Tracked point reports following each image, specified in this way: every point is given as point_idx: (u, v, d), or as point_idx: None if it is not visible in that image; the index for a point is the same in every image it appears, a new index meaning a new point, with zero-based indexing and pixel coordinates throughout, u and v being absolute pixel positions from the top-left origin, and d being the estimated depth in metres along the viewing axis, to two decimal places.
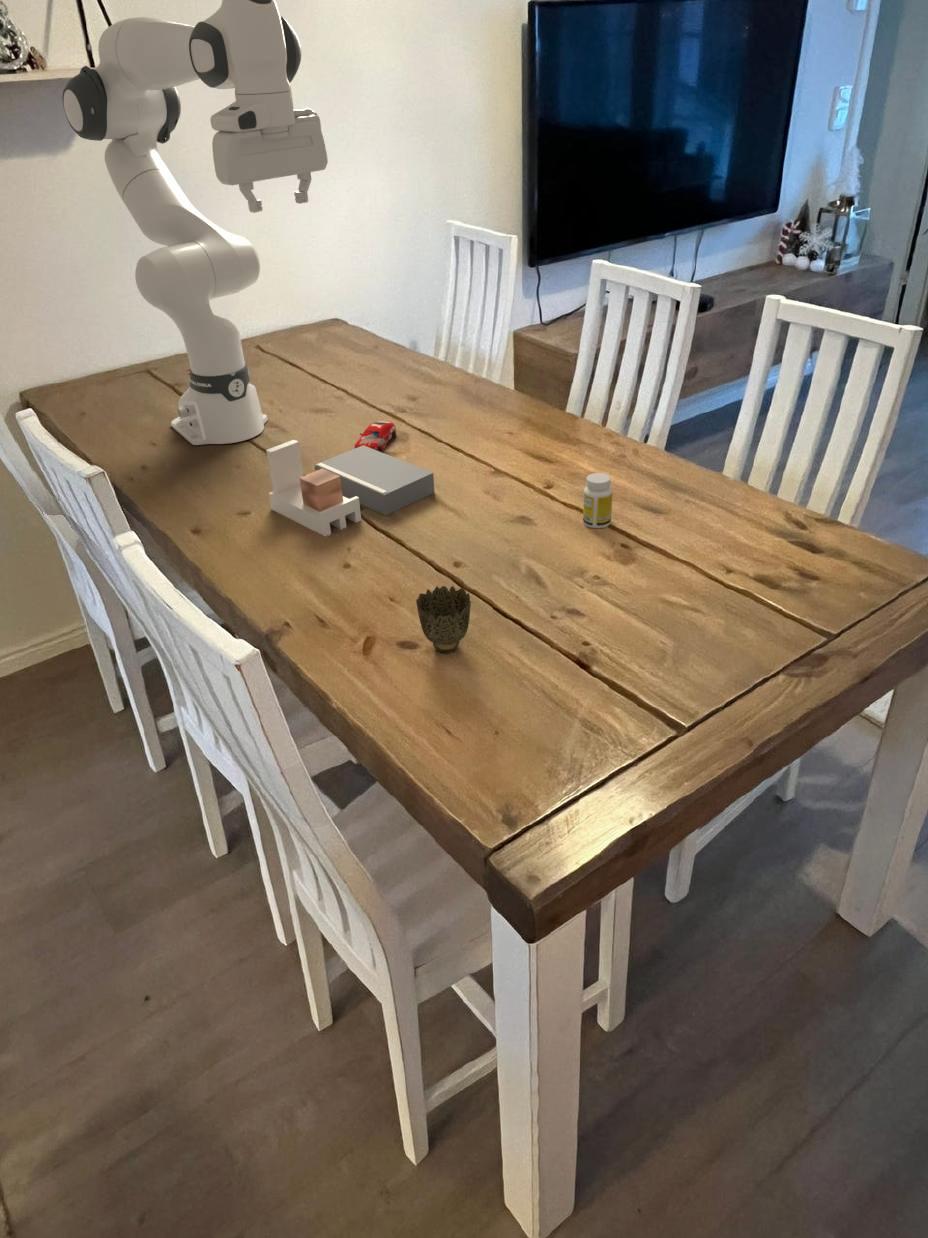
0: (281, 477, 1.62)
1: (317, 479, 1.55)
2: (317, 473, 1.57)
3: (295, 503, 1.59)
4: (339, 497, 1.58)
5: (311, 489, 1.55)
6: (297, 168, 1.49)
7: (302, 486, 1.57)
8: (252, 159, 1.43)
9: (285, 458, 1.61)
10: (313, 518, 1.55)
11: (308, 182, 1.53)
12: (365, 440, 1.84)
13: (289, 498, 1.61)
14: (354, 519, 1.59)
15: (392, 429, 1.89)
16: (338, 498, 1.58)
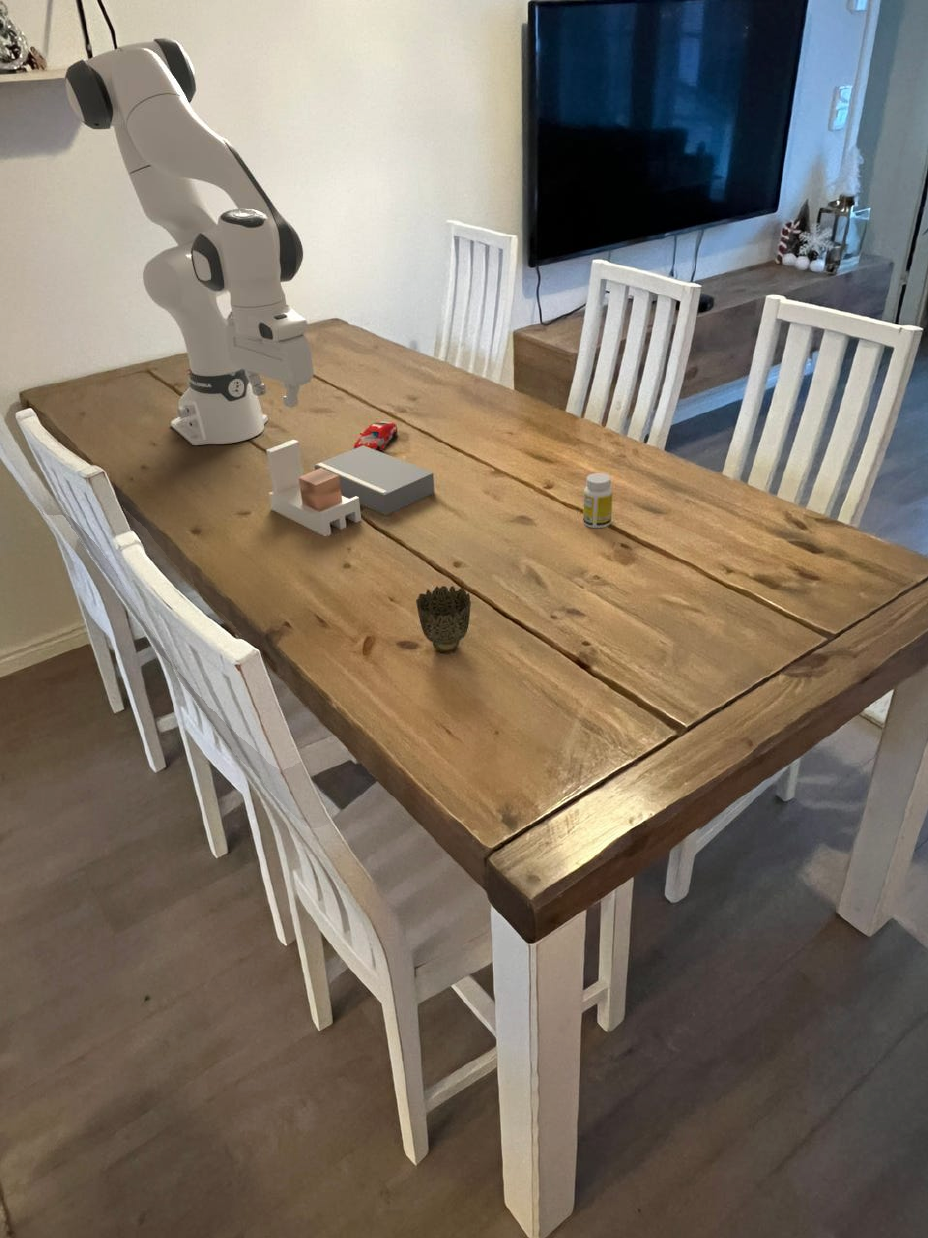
0: (281, 477, 1.62)
1: (316, 478, 1.55)
2: (316, 472, 1.57)
3: (295, 503, 1.59)
4: (338, 496, 1.58)
5: (310, 488, 1.55)
6: None
7: (301, 485, 1.57)
8: None
9: (285, 458, 1.61)
10: (313, 518, 1.55)
11: (257, 374, 1.58)
12: (364, 440, 1.84)
13: (289, 498, 1.61)
14: (354, 519, 1.59)
15: (393, 430, 1.89)
16: (337, 497, 1.58)
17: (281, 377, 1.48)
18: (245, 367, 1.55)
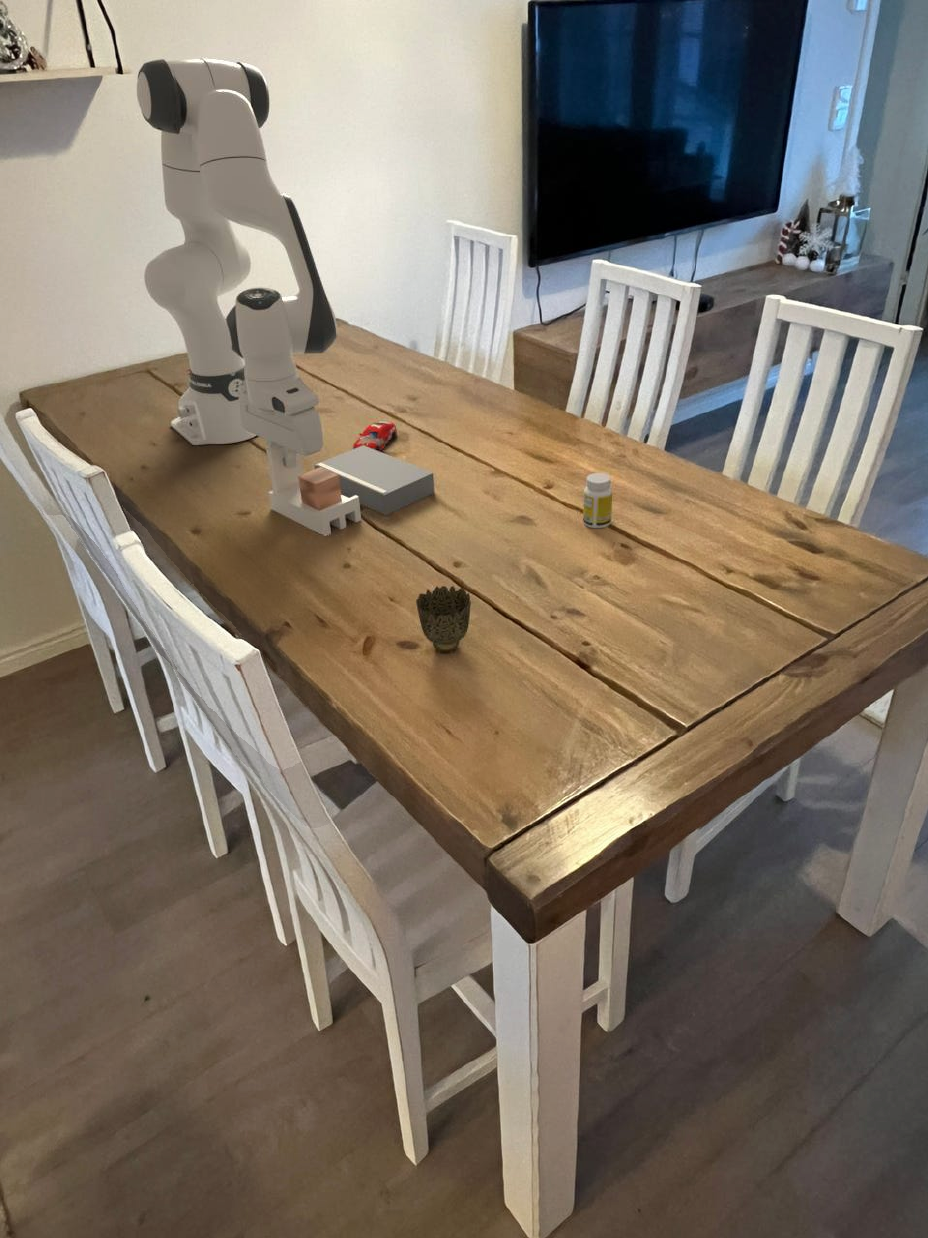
0: (281, 476, 1.62)
1: (315, 477, 1.55)
2: (316, 472, 1.57)
3: (295, 502, 1.59)
4: (337, 495, 1.58)
5: (310, 487, 1.55)
6: None
7: (301, 484, 1.57)
8: None
9: None
10: (313, 517, 1.55)
11: None
12: (364, 440, 1.84)
13: (289, 497, 1.61)
14: (354, 518, 1.59)
15: (392, 430, 1.89)
16: (336, 496, 1.58)
17: (292, 446, 1.55)
18: (257, 433, 1.61)
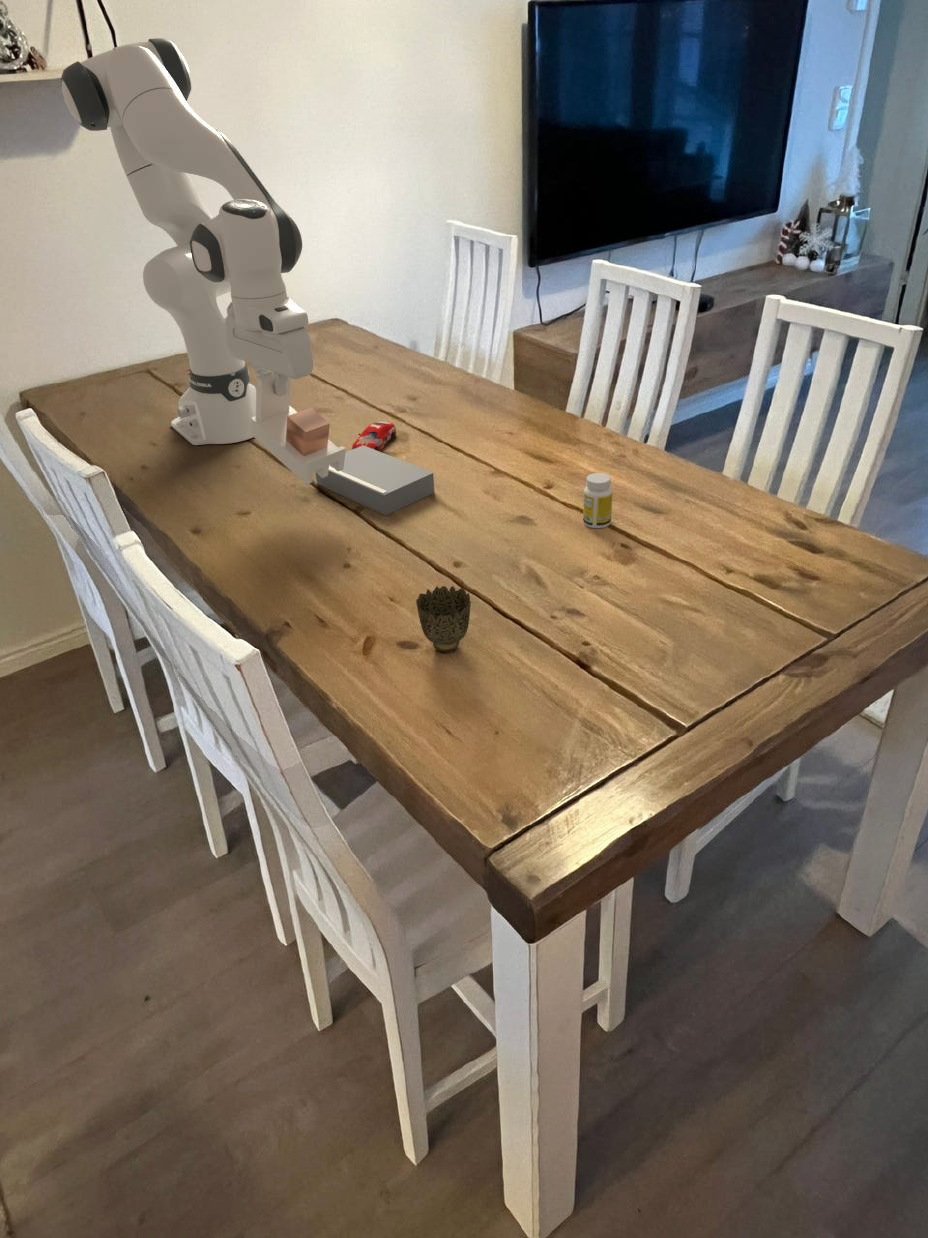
0: (267, 405, 1.55)
1: (305, 422, 1.51)
2: (306, 413, 1.52)
3: (279, 439, 1.54)
4: (324, 442, 1.54)
5: (298, 432, 1.50)
6: None
7: (288, 425, 1.52)
8: None
9: None
10: (296, 462, 1.52)
11: (266, 369, 1.56)
12: (363, 440, 1.84)
13: (273, 430, 1.56)
14: (336, 467, 1.56)
15: (391, 430, 1.89)
16: (323, 443, 1.54)
17: (281, 369, 1.47)
18: (244, 358, 1.54)
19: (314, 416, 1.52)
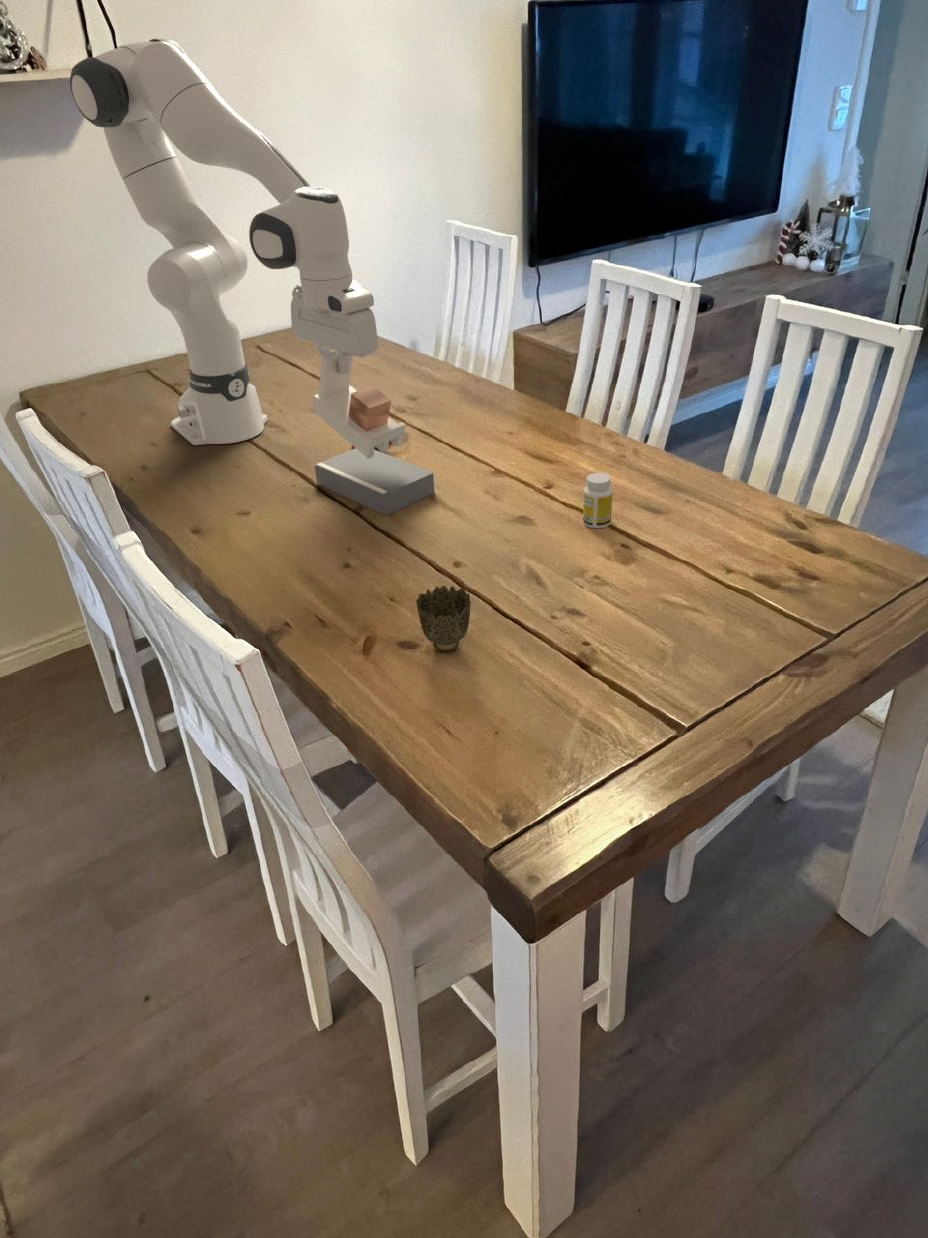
0: (330, 383, 1.63)
1: (368, 399, 1.59)
2: (368, 391, 1.60)
3: (341, 415, 1.62)
4: (385, 419, 1.62)
5: (362, 408, 1.58)
6: None
7: (352, 401, 1.60)
8: None
9: None
10: (359, 437, 1.60)
11: (329, 349, 1.64)
12: None
13: (335, 407, 1.63)
14: (395, 442, 1.64)
15: None
16: (384, 419, 1.62)
17: (346, 348, 1.55)
18: (309, 339, 1.62)
19: (376, 393, 1.60)
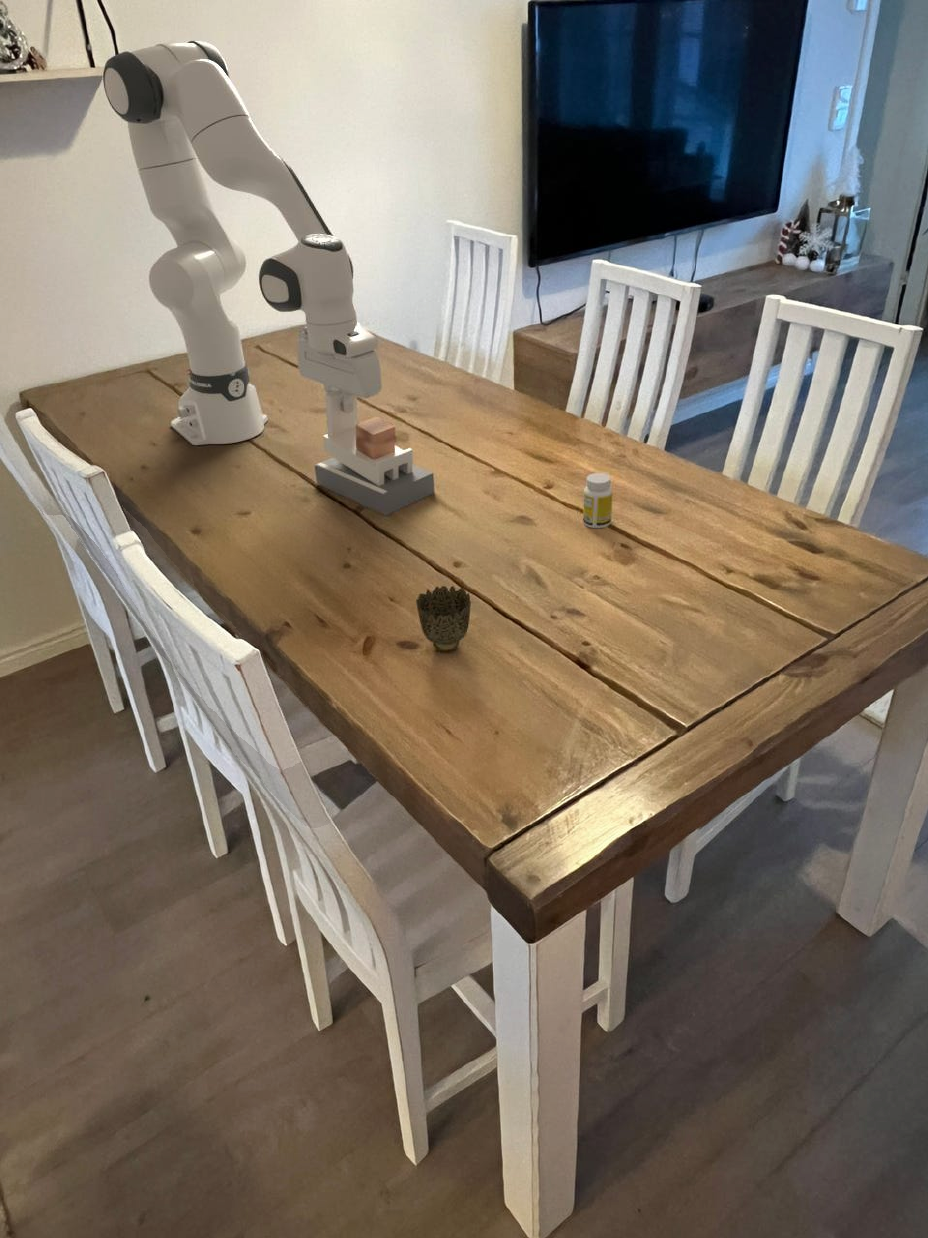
0: (337, 421, 1.67)
1: (372, 427, 1.61)
2: (372, 421, 1.63)
3: (350, 449, 1.65)
4: (391, 446, 1.64)
5: (367, 436, 1.61)
6: None
7: (357, 433, 1.62)
8: None
9: None
10: (368, 466, 1.62)
11: (335, 388, 1.68)
12: None
13: (344, 443, 1.66)
14: (406, 469, 1.65)
15: None
16: (390, 447, 1.64)
17: (351, 389, 1.59)
18: (315, 379, 1.66)
19: (380, 422, 1.63)
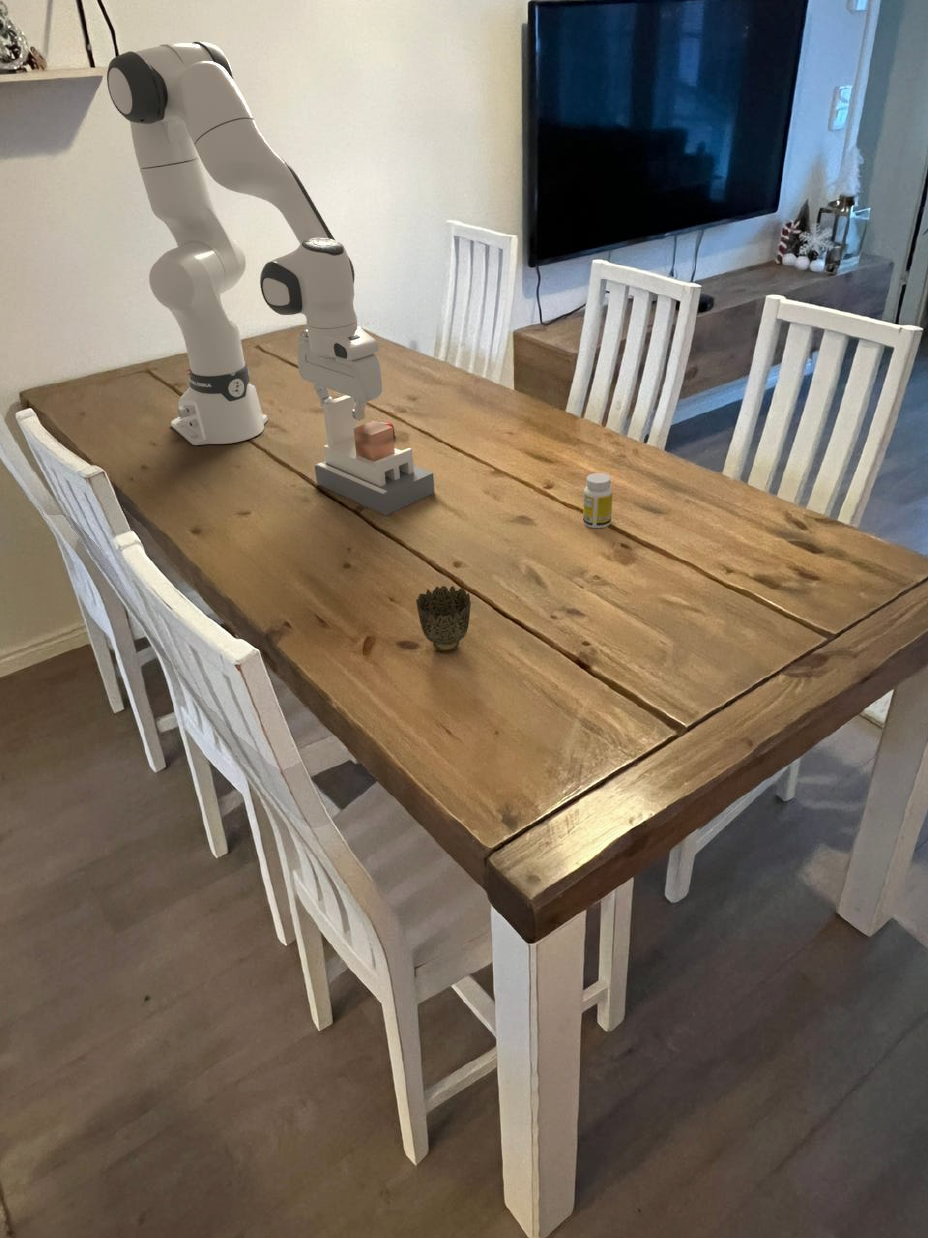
0: (336, 430, 1.68)
1: (370, 429, 1.62)
2: (370, 424, 1.64)
3: (350, 454, 1.65)
4: (391, 448, 1.64)
5: (365, 439, 1.61)
6: None
7: (356, 437, 1.63)
8: None
9: (340, 412, 1.67)
10: (368, 468, 1.62)
11: (325, 388, 1.70)
12: None
13: (344, 450, 1.67)
14: (407, 470, 1.65)
15: None
16: (390, 449, 1.64)
17: (352, 392, 1.60)
18: (315, 382, 1.66)
19: (378, 425, 1.63)
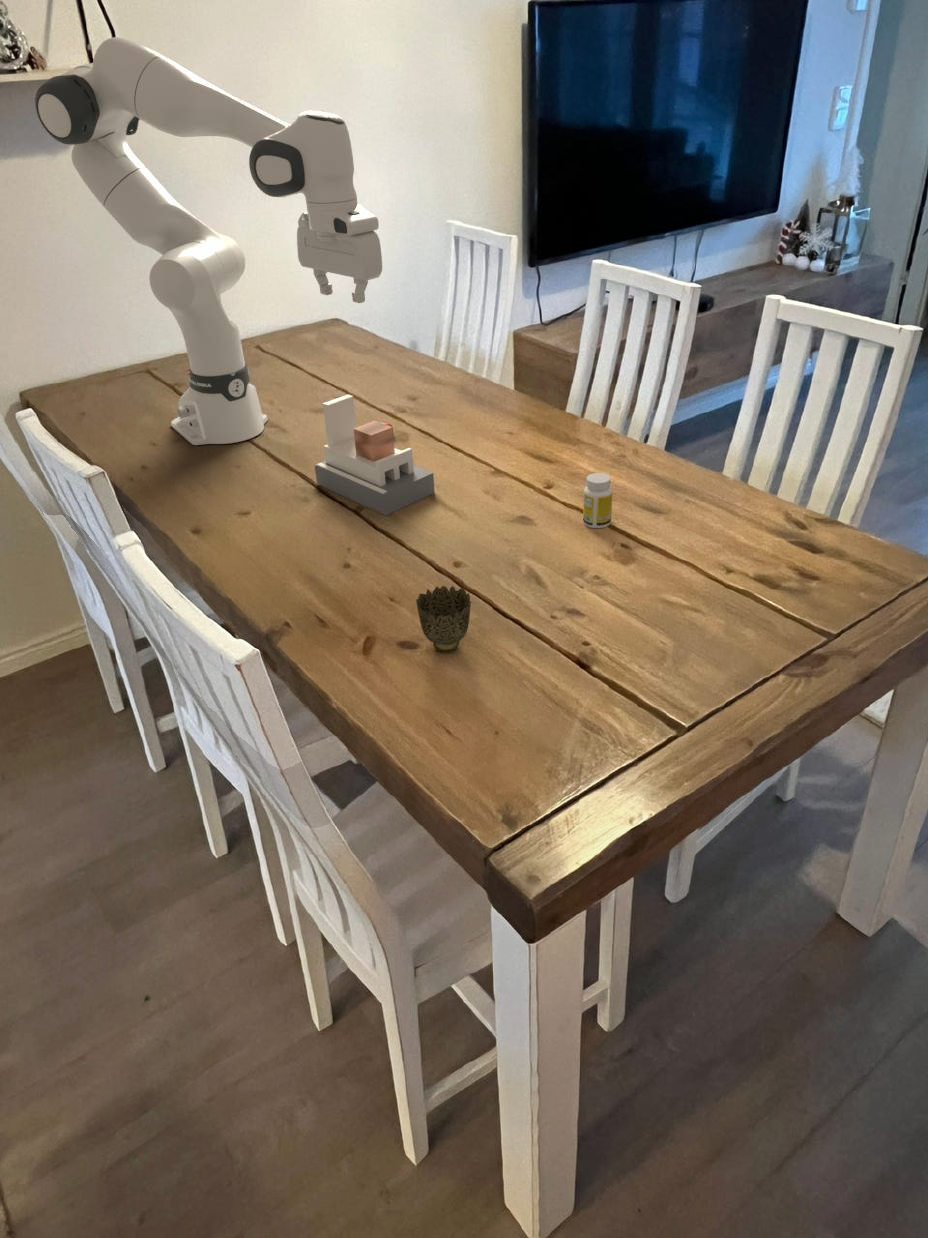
0: (336, 430, 1.68)
1: (370, 429, 1.62)
2: (370, 424, 1.64)
3: (350, 454, 1.65)
4: (391, 448, 1.64)
5: (365, 439, 1.61)
6: None
7: (356, 437, 1.63)
8: None
9: (340, 412, 1.67)
10: (368, 468, 1.62)
11: (325, 274, 1.68)
12: None
13: (344, 450, 1.67)
14: (407, 470, 1.65)
15: None
16: (390, 449, 1.64)
17: (352, 272, 1.58)
18: (315, 266, 1.65)
19: (378, 425, 1.63)
